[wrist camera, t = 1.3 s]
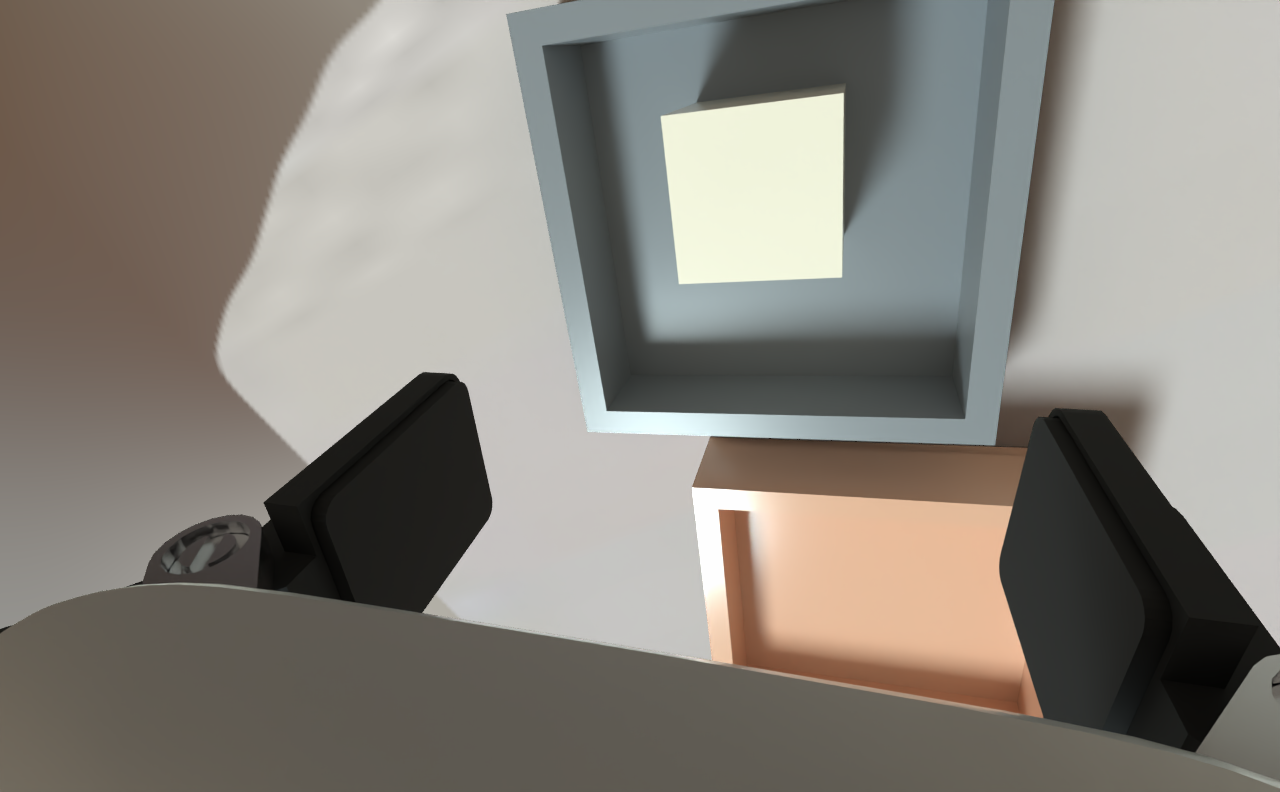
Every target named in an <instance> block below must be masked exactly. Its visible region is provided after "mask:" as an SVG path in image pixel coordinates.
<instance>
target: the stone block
mask: <svg viewBox="0 0 1280 792" xmlns="http://www.w3.org/2000/svg"><path fill="white" fill-rule="evenodd" d="M845 101H846V83H842V84H834V85H826V86H819V87H811V88H803V89H796V90H788V91H780V92H773V93H765V94H758V95H750V96H742V97H735V98H727V99H719V100H712V101H704V102H696V103H694V104H691V105H689V106H686V107H683V108H681V109H678V110H675V111H673V112H670V113H667V114H665V115H662V116H661V124H662V133H663V142H664V152H665V161H666V170H667V179H668V188H669V198H670V207H671V216H672V225H673V234H674V244H675V253H676V262H677V271H678V280H679V284H697V283H721V282H745V281H769V280H793V279H817V278H841V277H842V270H843V250H844V206H845Z"/></svg>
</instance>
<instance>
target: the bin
mask: <svg viewBox="0 0 1280 792" xmlns="http://www.w3.org/2000/svg"><path fill="white" fill-rule="evenodd" d="M1053 8H1054V0H578V1H572V2H567V3H562V4H557V5H552V6H546V7H541V8H536V9H531V10H525V11H520V12H515V13H510V14H506V15H507V20H508V25H509V30H510V36H511V41H512V46H513V51H514V56H515V61H516V66H517V72H518V77H519V82H520V87H521V92H522V97H523V102H524V108H525V113H526V118H527V123H528V128H529V133H530V138H531V143H532V149H533V154H534V159H535V164H536V169H537V174H538V179H539V185H540V190H541V195H542V200H543V205H544V210H545V215H546V220H547V226H548V231H549V236H550V241H551V246H552V251H553V256H554V262H555V267H556V272H557V277H558V282H559V287H560V292H561V297H562V303H563V308H564V313H565V318H566V323H567V328H568V333H569V339H570V344H571V349H572V354H573V359H574V364H575V369H576V374H577V380H578V385H579V390H580V395H581V400H582V405H583V410H584V416H585V421H586V426H587V431H588V432H606V433H636V434H666V435H696V436H726V437H756V438H786V439H817V440H847V441H877V442H907V443H937V444H967V445H995V442H996V435H997V427H998V420H999V412H1000V405H1001V397H1002V390H1003V382H1004V375H1005V367H1006V360H1007V352H1008V345H1009V337H1010V330H1011V322H1012V315H1013V307H1014V300H1015V292H1016V285H1017V277H1018V270H1019V262H1020V255H1021V247H1022V240H1023V232H1024V225H1025V217H1026V210H1027V202H1028V195H1029V188H1030V180H1031V173H1032V165H1033V158H1034V150H1035V143H1036V135H1037V128H1038V120H1039V113H1040V105H1041V98H1042V90H1043V83H1044V75H1045V68H1046V60H1047V53H1048V45H1049V38H1050V30H1051V23H1052V15H1053ZM842 83H846V101H845V206H844V250H843V270H842V277H841V278H817V279H793V280H769V281H745V282H721V283H697V284H679V280H678V271H677V262H676V253H675V244H674V234H673V225H672V216H671V207H670V198H669V188H668V179H667V170H666V161H665V152H664V142H663V133H662V124H661V116H662V115H665V114H667V113H670V112H673V111H675V110H678V109H681V108H683V107H686V106H689V105H691V104H694V103H696V102H704V101H712V100H719V99H727V98H735V97H742V96H750V95H758V94H765V93H773V92H780V91H788V90H796V89H803V88H811V87H819V86H826V85H834V84H842Z"/></svg>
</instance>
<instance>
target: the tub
mask: <svg viewBox="0 0 1280 792" xmlns="http://www.w3.org/2000/svg"><path fill="white" fill-rule="evenodd" d="M1027 449H1028V448H1017V447H987V446H957V445H928V444H898V443H868V442H839V441H809V440H780V439H750V438H720V437H710V439H709V442H708V445H707V447H706V450H705V453H704V456H703V458H702V461H701V464H700V467H699V469H698V472H697V475H696V478H695V480H694V483H693V486H692V492H693V501H694V510H695V518H696V527H697V535H698V544H699V553H700V561H701V570H702V578H703V587H704V596H705V604H706V613H707V621H708V630H709V639H710V647H711V656H712V660H713V661H718V662H724V663H730V664H736V665H742V666H748V667H754V668H760V669H765V670H771V671H777V672H783V673H789V674H795V675H801V676H806V677H812V678H818V679H824V680H830V681H836V682H842V683H848V684H853V685H859V686H865V687H871V688H877V689H883V690H889V691H894V692H900V693H906V694H912V695H918V696H923V697H929V698H935V699H940V700H946V701H952V702H957V703H963V704H969V705H974V706H980V707H986V708H992V709H998V710H1005V711H1010V712H1015V713H1020V714H1025V715H1030V716H1035V717H1039V718H1043V714H1042V711H1041V708H1040V705H1039V702H1038V699H1037V695H1036V692H1035V689H1034V686H1033V683H1032V679H1031V676H1030V673H1029V670H1028V667H1027V663H1026V660H1025V657H1024V654H1023V651H1022V647H1021V644H1020V641H1019V638H1018V635H1017V631H1016V628H1015V625H1014V622H1013V619H1012V615H1011V612H1010V609H1009V606H1008V603H1007V599H1006V596H1005V593H1004V590H1003V587H1002V584H1001V580H1000V574H999V559H1000V554H1001V550H1002V546H1003V542H1004V538H1005V534H1006V530H1007V527H1008V523H1009V519H1010V515H1011V511H1012V507H1013V503H1014V499H1015V495H1016V491H1017V488H1018V484H1019V480H1020V476H1021V472H1022V468H1023V464H1024V460H1025V456H1026V452H1027Z"/></svg>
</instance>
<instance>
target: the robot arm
mask: <svg viewBox="0 0 1280 792" xmlns="http://www.w3.org/2000/svg"><path fill="white" fill-rule="evenodd" d="M264 504H265V507H266V509H267V511H268V514H269V516H270V519H271V520H270V521H269V522H268V523H266V524H265V525H264V526H263V527H261V524H260V522H259V521H258V520H256V519H255V518H254V517H251V516H246V515H226V516H222V517H217V518H212V519H209V520H207V521H204V522H201V523H198V524H195V525H194V526H191V527H189V528H187V529H185V530H183V531H182V532H180V533H178V534H177V535H175V536H174V537H172V538H171V539H169V540H168V541H166V542H165V543H164V544H163V545H162V546H161V547H160V548H159V549H158V550H157V551H156V552H155V553H154V554H153V556H152V558H151V560H150V561H149V563H148V566H147V569H146V573H145V576H144V579H143V581H141V582H139V583H135V584H133V585H130V586H127V587H124V588H118V589H112V590H106V591H100V592H96V593H92V594H88V595H84V596H80V597H76V598H73V599H70V600H66V601H63V602H60V603H56V604H53V605H51V606H48V607H46V608H43V609H41V610H39V611H37V612H35V613H33V614H31V615H30V616H28V617H26V618H25V619H23V620H21V621H19V622H18V623H16V624H14V625H12V626H8V627H5V628H2V629H0V792H1280V647H1279V646H1278V645H1277V643H1276V642H1275V640H1274V639H1273V638H1272V636H1271V635H1270V634H1269V632H1268V631H1267V630H1266V628H1265V627H1264V625H1263V624H1262V623H1261V621H1260V620H1259V619H1258V617H1257V616H1256V615H1255V613H1254V612H1253V611H1252V609H1251V608H1250V606H1249V605H1248V604H1247V602H1246V601H1245V600H1244V598H1243V597H1242V596H1241V594H1240V593H1239V592H1238V590H1237V589H1236V587H1235V586H1234V585H1233V583H1232V582H1231V581H1230V579H1229V578H1228V577H1227V575H1226V574H1225V572H1224V571H1223V570H1222V568H1221V567H1220V566H1219V564H1218V563H1217V562H1216V560H1215V559H1214V558H1213V556H1212V555H1211V553H1210V552H1209V551H1208V549H1207V548H1206V547H1205V545H1204V544H1203V543H1202V541H1201V540H1200V538H1199V537H1198V536H1197V534H1196V533H1195V532H1194V530H1193V529H1192V528H1191V526H1190V525H1189V524H1188V522H1187V521H1186V519H1185V518H1184V517H1183V516H1182V515H1181V514H1180V513H1179V512H1178V511H1177V510H1176V509H1175V508H1173V507H1172V506H1171V504H1170V503H1169V502H1168V500H1167V499H1166V497H1165V496H1164V495H1163V493H1162V492H1161V491H1160V489H1159V488H1158V486H1157V485H1156V484H1155V482H1154V481H1153V480H1152V478H1151V477H1150V475H1149V474H1148V473H1147V471H1146V470H1145V469H1144V467H1143V466H1142V464H1141V463H1140V462H1139V460H1138V459H1137V458H1136V456H1135V455H1134V453H1133V452H1132V451H1131V449H1130V448H1129V447H1128V445H1127V444H1126V442H1125V441H1124V440H1123V438H1122V437H1121V436H1120V434H1119V433H1118V431H1117V430H1116V429H1115V427H1114V426H1113V425H1112V423H1111V422H1110V420H1109V419H1108V418H1107V416H1106V415H1105V414H1104V413H1103V412H1102V411H1096V410H1078V409H1060V408H1055V409H1054V410H1052V412H1051V413H1050V415H1049V417H1038V418H1037V419H1036V421H1035V423H1034V426H1033V429H1032V433H1031V437H1030V441H1029V445H1028V449H1027V452H1026V456H1025V460H1024V464H1023V468H1022V472H1021V476H1020V480H1019V484H1018V488H1017V491H1016V495H1015V499H1014V503H1013V507H1012V511H1011V515H1010V519H1009V523H1008V527H1007V530H1006V534H1005V538H1004V542H1003V546H1002V550H1001V554H1000V559H999V574H1000V580H1001V584H1002V587H1003V590H1004V593H1005V596H1006V599H1007V603H1008V606H1009V609H1010V612H1011V615H1012V619H1013V622H1014V625H1015V628H1016V631H1017V635H1018V638H1019V641H1020V644H1021V647H1022V651H1023V654H1024V657H1025V660H1026V663H1027V667H1028V670H1029V673H1030V676H1031V679H1032V683H1033V686H1034V689H1035V692H1036V695H1037V699H1038V702H1039V705H1040V708H1041V711H1042V714H1043V718H1039V717H1035V716H1030V715H1025V714H1020V713H1015V712H1010V711H1005V710H998V709H992V708H986V707H980V706H974V705H969V704H963V703H957V702H952V701H946V700H940V699H935V698H929V697H923V696H918V695H912V694H906V693H900V692H894V691H889V690H883V689H877V688H871V687H865V686H859V685H853V684H848V683H842V682H836V681H830V680H824V679H818V678H812V677H806V676H801V675H795V674H789V673H783V672H777V671H771V670H765V669H760V668H754V667H748V666H742V665H736V664H730V663H724V662H718V661H713V660H707V659H701V658H695V657H689V656H682V655H676V654H670V653H664V652H658V651H652V650H646V649H640V648H634V647H628V646H622V645H616V644H610V643H604V642H598V641H592V640H586V639H580V638H574V637H567V636H561V635H555V634H549V633H543V632H537V631H531V630H525V629H519V628H512V627H506V626H500V625H494V624H487V623H481V622H475V621H468V620H462V619H456V618H449V617H443V616H437V615H431V614H424V613H422V612H423V611H424V609H425V608H426V607H427V605H428V604H429V602H430V601H431V600H432V598H433V597H434V595H435V594H436V593H437V591H438V590H439V588H440V587H441V585H442V584H443V583H444V581H445V580H446V578H447V577H448V576H449V574H450V573H451V571H452V570H453V569H454V567H455V566H456V564H457V563H458V561H459V560H460V559H461V557H462V556H463V554H464V553H465V552H466V550H467V549H468V547H469V546H470V545H471V543H472V542H473V540H474V539H475V537H476V536H477V535H478V533H479V532H480V530H481V529H482V528H483V526H484V525H485V523H486V522H487V521H488V519H489V517H490V514H491V511H492V497H491V492H490V488H489V483H488V479H487V474H486V470H485V465H484V460H483V456H482V451H481V447H480V442H479V438H478V433H477V429H476V424H475V420H474V415H473V411H472V406H471V402H470V397H469V393H468V389H467V387H466V385H465V384H464V383H463V382H460V381H459V379H458V378H457V376H455V375H454V374H447V373H430V372H423V373H421V374H419V375H418V376H417V377H416V378H414V379H413V380H412V381H411V382H409V383H408V384H407V385H406V386H405V387H403V388H402V389H401V390H400V391H398V392H397V393H396V394H395V395H394V396H392V397H391V398H390V399H389V400H388V401H386V402H385V403H384V404H383V405H381V406H380V407H379V408H378V409H377V410H375V411H374V412H373V413H372V414H371V415H369V416H368V417H367V418H366V419H364V420H363V421H362V422H361V423H360V424H358V425H357V426H356V427H355V428H353V429H352V430H351V431H350V432H349V433H347V434H346V435H345V436H344V437H343V438H341V439H340V440H339V441H338V442H336V443H335V444H334V445H333V446H332V447H330V448H329V449H328V450H327V451H325V452H324V453H323V454H322V455H321V456H319V457H318V458H317V459H316V460H315V461H313V462H312V463H311V464H310V465H308V466H307V467H306V468H305V469H304V470H302V471H301V472H300V473H299V474H298V475H296V476H295V477H294V478H293V479H291V480H290V481H289V482H288V483H287V484H285V485H284V486H283V487H282V488H280V489H279V490H278V491H277V492H276V493H274V494H273V495H272V496H271V497H270V498H268V499H267V500H266V501H265V502H264Z"/></svg>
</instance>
